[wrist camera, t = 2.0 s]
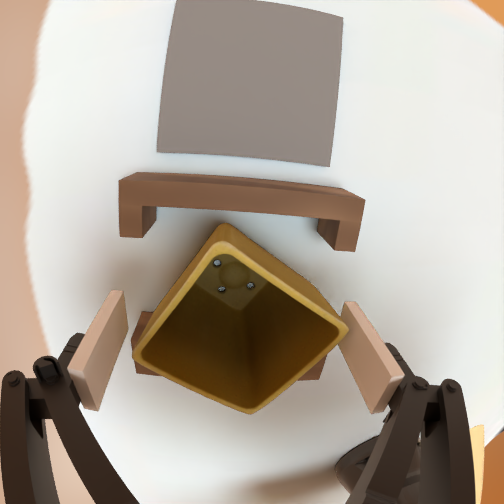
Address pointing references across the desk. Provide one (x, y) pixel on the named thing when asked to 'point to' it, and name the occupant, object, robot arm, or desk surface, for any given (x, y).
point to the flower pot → (238, 325)
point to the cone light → (478, 458)
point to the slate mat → (251, 81)
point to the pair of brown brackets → (237, 199)
